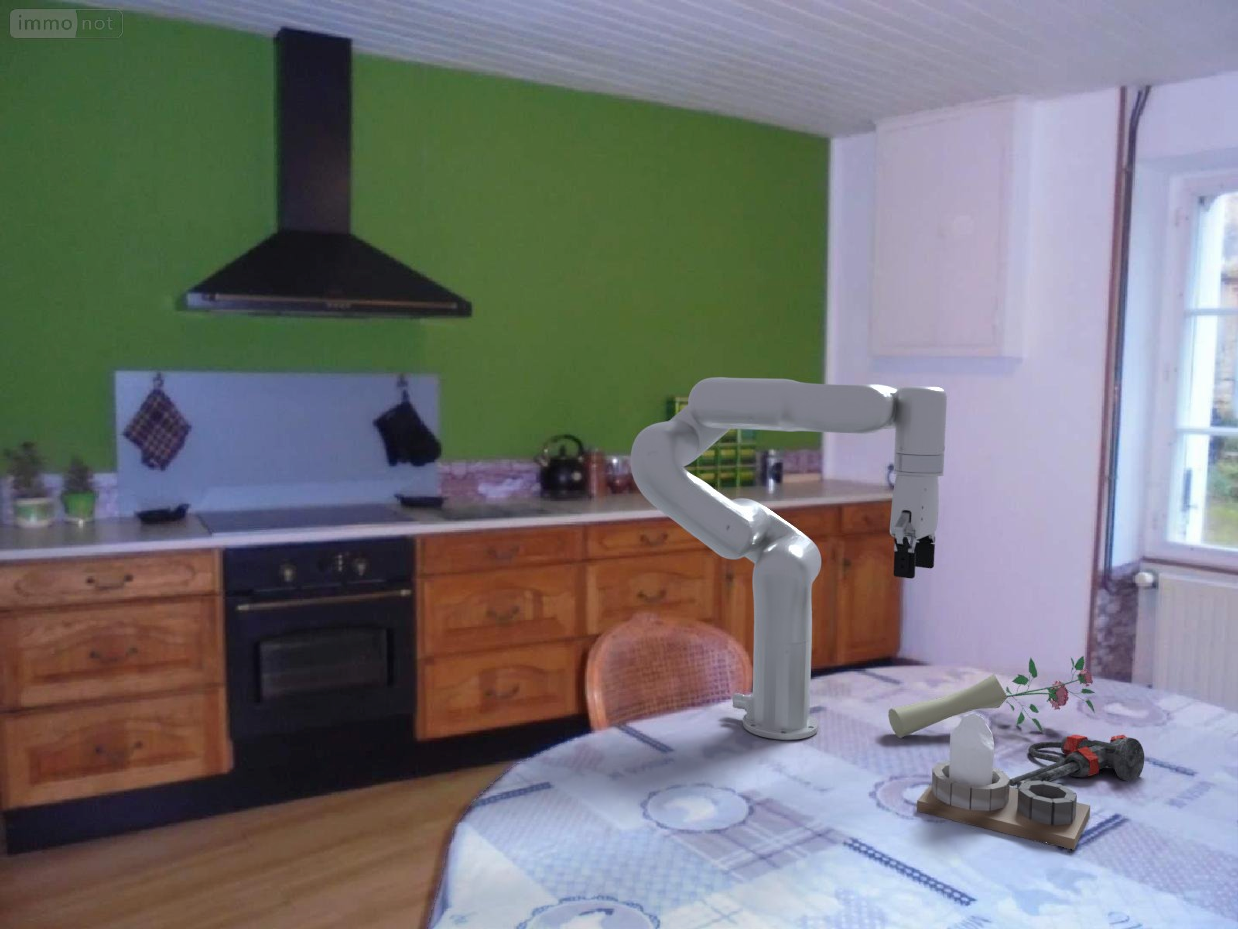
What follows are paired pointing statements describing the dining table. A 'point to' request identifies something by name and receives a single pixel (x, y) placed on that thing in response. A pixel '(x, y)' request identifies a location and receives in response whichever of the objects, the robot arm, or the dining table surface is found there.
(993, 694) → the flower vase
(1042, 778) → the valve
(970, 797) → the fitting board
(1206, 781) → the dining table surface
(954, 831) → the dining table surface
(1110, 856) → the dining table surface
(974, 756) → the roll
